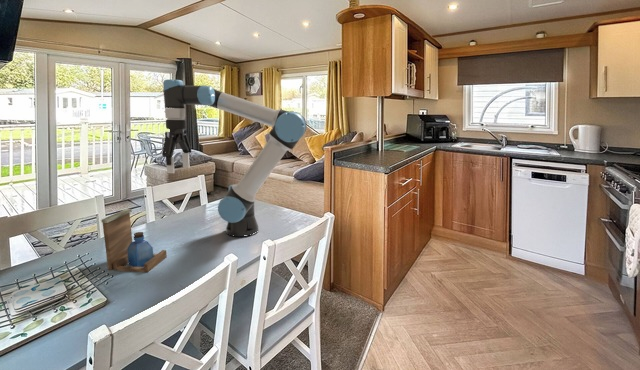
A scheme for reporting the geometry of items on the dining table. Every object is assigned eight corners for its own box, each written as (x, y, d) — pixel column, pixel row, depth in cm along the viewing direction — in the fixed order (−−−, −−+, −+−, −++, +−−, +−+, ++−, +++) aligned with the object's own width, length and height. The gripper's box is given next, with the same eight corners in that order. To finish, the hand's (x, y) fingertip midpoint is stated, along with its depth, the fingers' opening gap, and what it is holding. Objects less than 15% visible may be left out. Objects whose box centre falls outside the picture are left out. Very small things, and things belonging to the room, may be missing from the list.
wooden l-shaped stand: (167, 256, 133) (163, 210, 129) (147, 272, 119) (142, 221, 115) (131, 254, 134) (126, 208, 130) (107, 270, 120) (101, 219, 116)
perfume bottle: (145, 258, 131) (142, 229, 128) (154, 262, 127) (151, 232, 125) (128, 264, 126) (125, 233, 123) (137, 268, 122) (134, 237, 120)
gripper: (181, 118, 150) (184, 165, 155) (149, 119, 126) (154, 175, 130) (197, 118, 150) (200, 166, 154) (168, 120, 125) (172, 176, 130)
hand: (179, 170), depth 142 cm, fingers open, 13 cm apart
